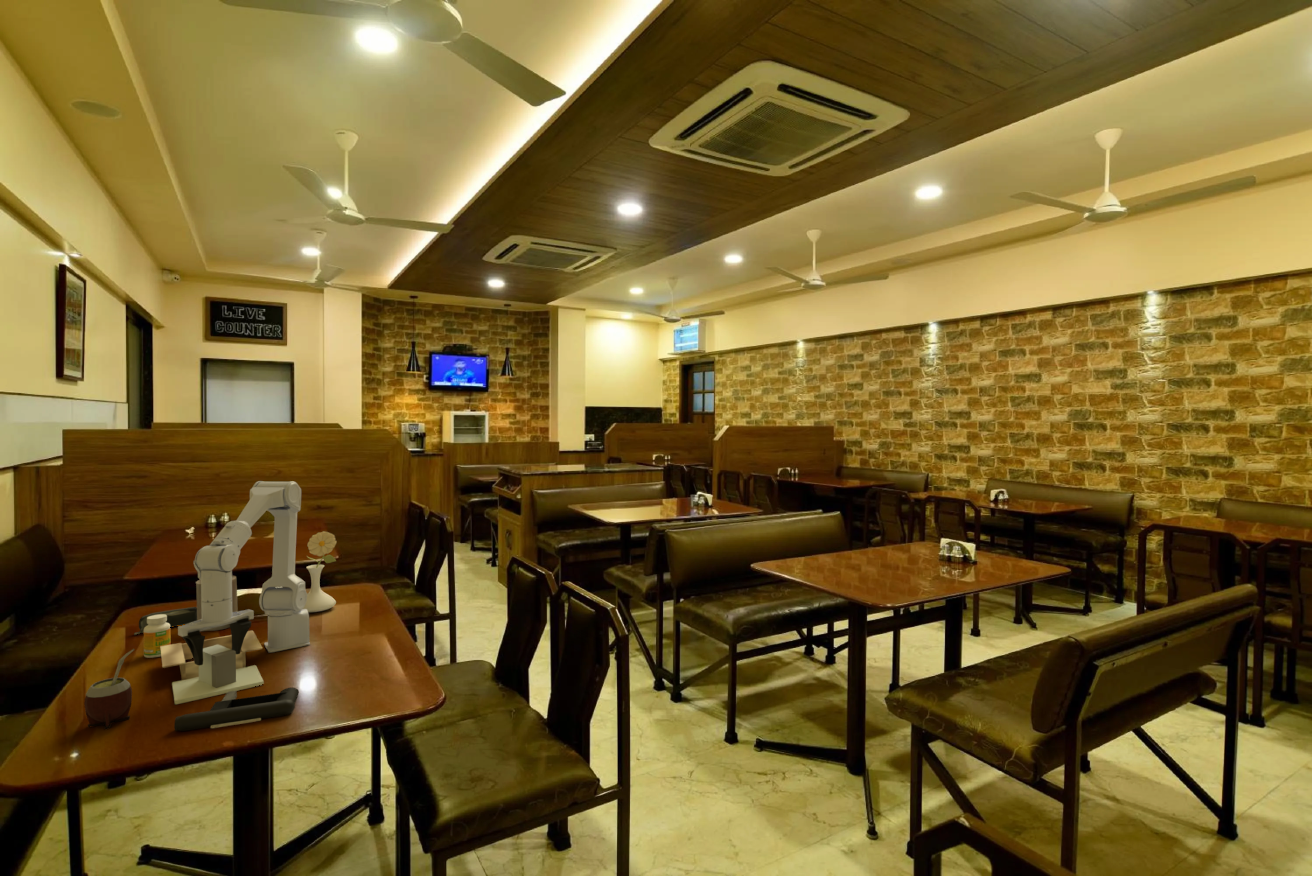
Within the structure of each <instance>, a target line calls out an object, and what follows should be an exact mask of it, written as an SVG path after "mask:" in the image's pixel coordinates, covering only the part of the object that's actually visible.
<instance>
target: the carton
mask: <svg viewBox="0 0 1312 876" xmlns="http://www.w3.org/2000/svg"><path fill="white" fill-rule="evenodd" d="M214 645H221V646H224V647H226V648H229V649H231V650H232V635H231V634H230V635H225V636H219V637H212V638H207V639H204V644H203V648H206V647H210V646H214ZM160 649H161V656H160V658H161V664H162V665H161V666H162V669H163V668H164V669H165V668H170V667H175V666H176V667H177V666H179V670H180V675H181V680H186V679H191V678H195V677H199V665H196V664H195V662H194V660H193V659H194V658H193V655H192V653H191V650H190V648H189V647H188V645H187V643H186V642H185V643H182V642H178V643H172V644H171V645H166V646H160ZM259 650H263V646H262V645H261V643H260V640H259V639H258V638H257V635H256V633H255V631H254V630H248V632H247V634H246V636H245V638H244V641H243V644H242V647H241V651H240V654H236V669H239V668H244V667H247V666H246V663H247V662H246V660H247V659H246V658H247V657H246V653H247V652H254V651H259ZM192 658H193V659H192ZM186 660H191V661H188V662H186ZM192 660H193V661H192Z"/></svg>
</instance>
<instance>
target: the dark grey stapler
mask: <svg viewBox="0 0 1312 876" xmlns="http://www.w3.org/2000/svg"><path fill="white" fill-rule="evenodd" d="M159 614H165V615H167V621H166V623H169V624H170V627H172V626H177V625H183V624H188V623H191V622H194V621H197V606H190V607H185V608H176V609H169V610H164V611H157V612H152V613H149V614H145V615H143V616H141V617H140V618H139V621H138V629H139V631H137V632H134V633H133V635H134V636H136V635H137V634H138V635H141V634H140V633H143V634H144V628H145V627H146V626H147V625H148V624H147V617H149V616H153V615H159ZM138 635H137V636H138Z"/></svg>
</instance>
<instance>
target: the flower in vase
mask: <svg viewBox="0 0 1312 876" xmlns="http://www.w3.org/2000/svg"><path fill="white" fill-rule="evenodd" d="M336 545H337V540H336V536H335V534H333V533H331V532H328V531H322V532H317V533H316V534H313V535H312V536H311V537H309V541H308V542H307V547H308V550H309V553H310V554H311V555H313V556H317V557H321V559H320V561H318V560H317V559H314V558H313V557H309V556H308V555H306V557H307V558H308V559H310V560H312V561H315V562H316V563H317V564H311V565H308V566H306V570H308V572H309V574H310V580H311V583H310V584H311V586H310V590H309V592H307V601H306V604H305V606H304V607H303V609H307V610H308V613H317V612H323V611H327V610H329V609H331V608H333V607H334V606H335V605H336V603H337V601H336V600H335V599H334V598H333V596H331V595H329V594H328V593H326V592H324V591H323V590H322V588H321V586H320V585H321V584H320V579H321V573H322V571H323V568H324V567H325V565H324V564H321V562H322V560H323V561H324V562H325V563H326V564H331V563H334V562H337V560H336V558H335V557H334V556H333V555H331V554H329V553H331V552H332V551H333V550H334V548H335V547H336ZM326 554H327V555H326Z"/></svg>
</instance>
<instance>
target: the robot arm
mask: <svg viewBox="0 0 1312 876" xmlns="http://www.w3.org/2000/svg"><path fill="white" fill-rule="evenodd" d="M301 506H302V488H301V487H300V485H299V484H298V482H296V481H293V480H292V481H291V480H290V481H263V480H258V481H256V482H255V483H254V484H253V486H252V487H251V488H250V489H249V501H248V502H247V504H246V505H245V506H244V508H243V509H242V511H241V512H240V514H239V516H238V517H237V519H236V520H231V521H228V522H227V523H226V524H225V525H224V527H223V528H222V529H221V530H220V531H219V533H218V534H217V535H216V537H215V538H214V539H213V540H212V541H211V543H210V544H209V545H205V546H202V547H201V548H200V549H199V550H198V551H197V552H196V554H195V558H194V560H193V567H194V568H195V570H196V572H197V578H198V579H199V580H201V609H202V619H200V620H197V621H194V622H191V623H188V624H185V625H182V626H178V627H177V635H178V636H180V637H181V639H183V640H184V642H185V643H187V645H188V647H189V648H190V650H191V653H192V655H193V661H194V662H195V664H196V665H199V666H200V665H203V644H204V640H206V639H205V637H206V636H204V635H203V634H202V632H204V631H203V630H207V629H211V628H215V627H219V626H223V625H227V624H229V625H230V628H229V629H230V635H232V650H234V651H236V654H240V651H241V647H242V644H243V641H244V638H245V636H246V634H247V632H248V631H250V628H251V627H252V621H251V620H254V615H255V614H254V613H255V611H254V610H252V609H249V608H248V609H245V610H238V612H232V575H233V570H234V568H236V567H237V565H238V562H239V556H240V554H241V549H242V548H243V547H244V546H245V545H246V543H247V542H248V540H250V538H251V536H252V535H253V532H252V529H251V528H252V527H253V526H254V525H255V523H256V522H258V520H260V518H261V517H262V516H263V515H264V514H265V513H266V511H267V512H269V513H270V514H271V515H272V516H273V517H274V522H273V523H274V525H273V546H272V547H273V548H272V566H271V567H272V568H271V569H272V571H271V573H272V574H271V577H270V578H268V579H267V580H266V581H264V583H262V588H261V593H260V595H259V598H258V604H259V607H260V609H261V610H262V611H263V612H264V615H265V616H267V641H265V642H264V643H263V644H264V647H265V648H266V651H267V652H268V653H275V652H280V651H286V650H291V649H295V648H300V647H305V646H306V647H307V646H310V645H311V642H310V613H309V612H308V610H307V609H303V607H304V606H305V604H306V601H307V594H308V592H307V590H306V581H304V580H303V579H302V578H301V577H299V576H297V575H296V549H297V548H296V547H297V532H298V531H297V530H298V529H297V527H298V512H300V511H301V509H302V507H301Z"/></svg>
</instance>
